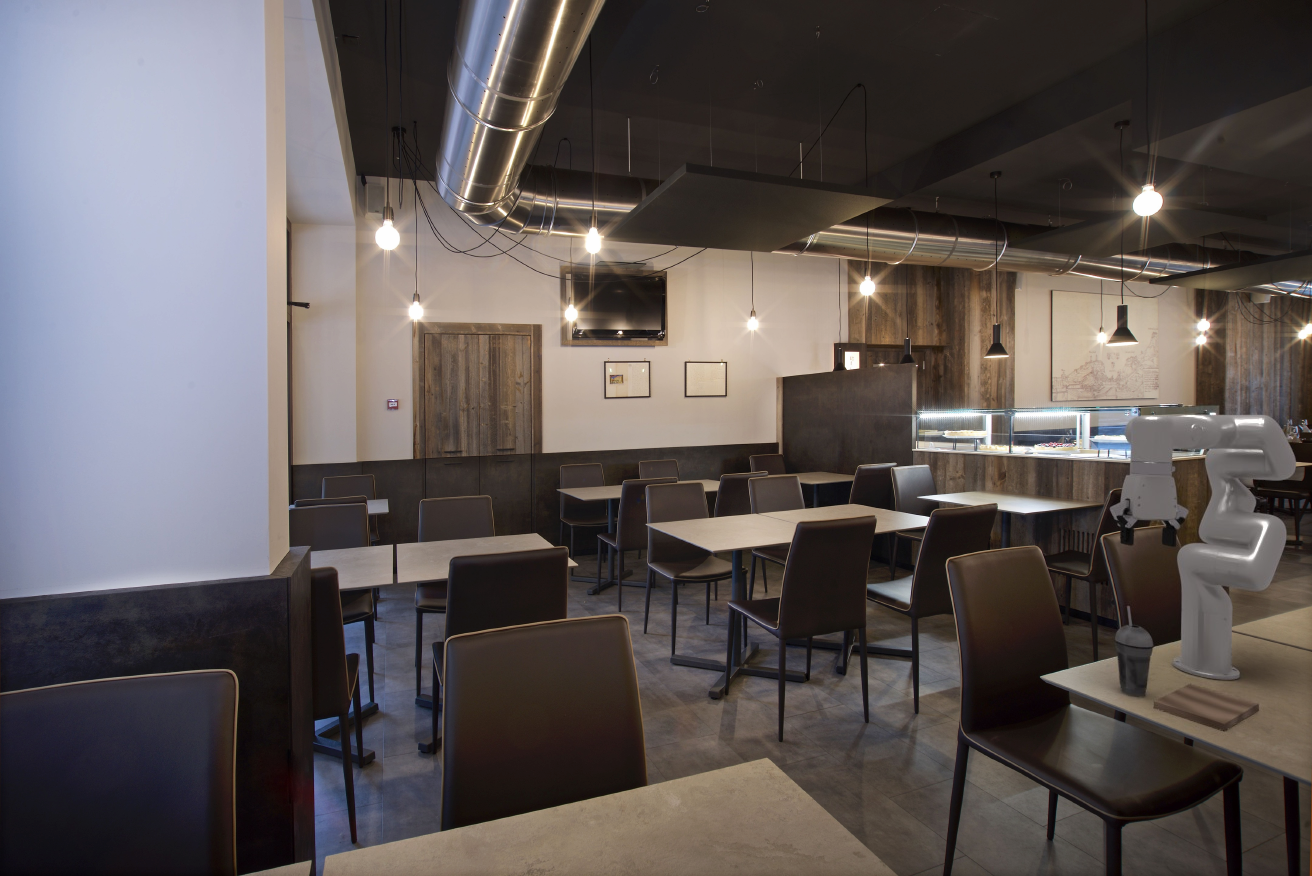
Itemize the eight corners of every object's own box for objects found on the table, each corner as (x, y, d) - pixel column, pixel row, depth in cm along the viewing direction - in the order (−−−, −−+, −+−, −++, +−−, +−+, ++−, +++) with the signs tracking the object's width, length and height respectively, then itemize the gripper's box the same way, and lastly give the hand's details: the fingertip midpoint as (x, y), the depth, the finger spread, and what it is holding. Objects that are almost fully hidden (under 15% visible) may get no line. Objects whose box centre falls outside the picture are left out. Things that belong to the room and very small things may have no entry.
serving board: (1190, 689, 147) (1190, 683, 147) (1258, 710, 136) (1258, 703, 136) (1153, 708, 138) (1153, 701, 137) (1224, 731, 127) (1224, 723, 127)
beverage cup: (1160, 701, 141) (1161, 612, 140) (1123, 698, 142) (1124, 610, 142) (1142, 687, 148) (1143, 602, 148) (1107, 685, 150) (1108, 601, 149)
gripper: (1174, 470, 148) (1171, 543, 148) (1101, 468, 148) (1098, 541, 148) (1202, 472, 140) (1199, 549, 140) (1125, 470, 140) (1122, 547, 140)
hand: (1147, 545), depth 144 cm, fingers open, 9 cm apart
